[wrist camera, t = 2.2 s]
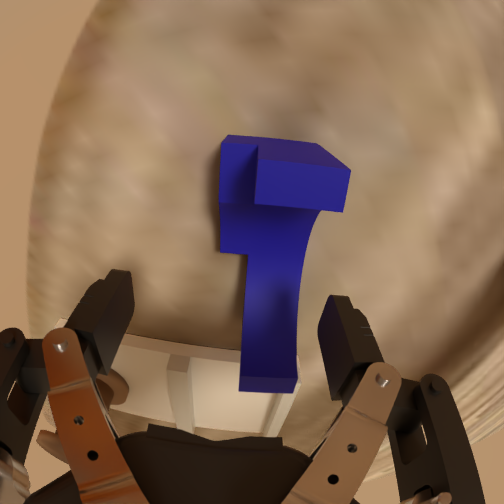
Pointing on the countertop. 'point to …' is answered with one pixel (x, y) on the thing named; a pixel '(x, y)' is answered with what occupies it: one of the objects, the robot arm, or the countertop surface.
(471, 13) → the countertop surface
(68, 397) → the robot arm
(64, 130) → the countertop surface
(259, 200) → the cable clip
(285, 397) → the ridged board
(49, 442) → the walnut knob
